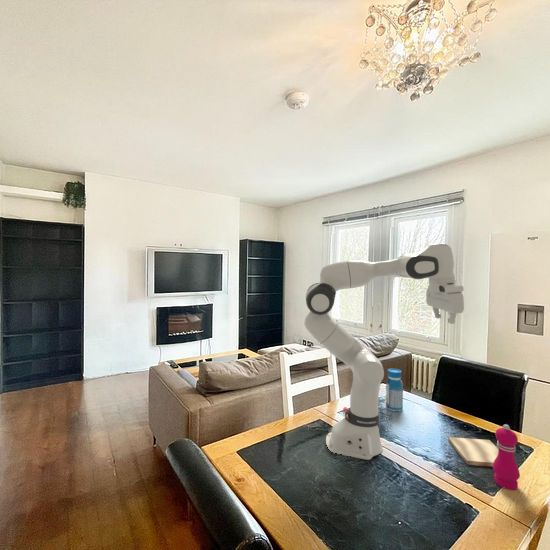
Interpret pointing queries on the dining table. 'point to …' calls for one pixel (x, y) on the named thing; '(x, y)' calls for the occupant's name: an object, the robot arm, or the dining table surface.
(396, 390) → the beverage bottle
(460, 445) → the oak board
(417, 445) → the dining table surface
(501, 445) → the pepper mill
